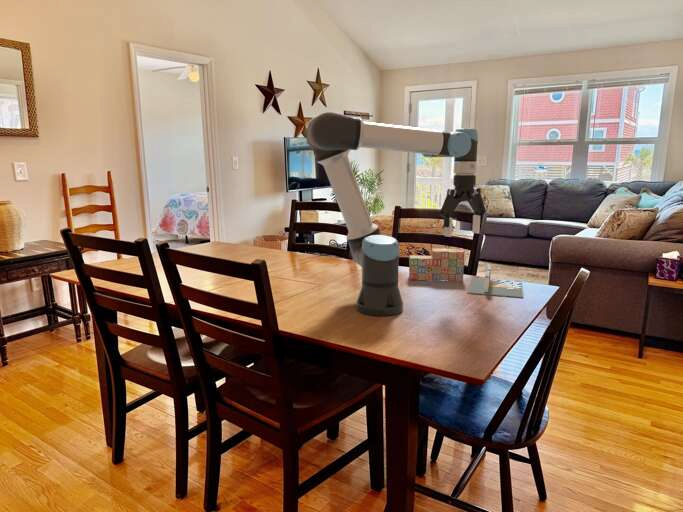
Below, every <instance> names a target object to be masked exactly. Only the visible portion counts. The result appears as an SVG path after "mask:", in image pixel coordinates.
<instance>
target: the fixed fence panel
mask: <svg viewBox="0 0 683 512" xmlns="http://www.w3.org/2000/svg"><path fill="white" fill-rule="evenodd" d="M491 267H492V264H491V263H487V266H486V269H491ZM491 270H492V269H491Z"/></svg>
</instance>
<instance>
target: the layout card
mask: <svg viewBox="0 0 683 512" xmlns="http://www.w3.org/2000/svg"><path fill="white" fill-rule="evenodd" d="M491 279H492V278H490V286H489V288H488V292H484V290H485V278H480V279H478V277H477V278H476V277H471V279H470V282H469V286H468V289H467V292H466V293H467V294H469V295H470V294H471V295H479V294H481V295H484V296H491V295H496V296H495V297H503V296H508V297H507V298H515V297H520V298H519V299H524V295H523V283H522V281H518V280H514V281H515V282H521V283H519V284H517V285H522V286H519V287H522V288H518V289H517V288H516V287H508V286H496V285H497V284H501V283H504V282H501V283H499V282H500V281H501V280H502V279H496V280H497V281H493V280H495V279H494V278H493V279H492V280H491ZM510 281H511V280H507V281H505V282H510ZM510 284H513V282H512V283H510ZM512 286H513V285H512ZM507 288H514V289H507ZM481 295H480V296H481Z"/></svg>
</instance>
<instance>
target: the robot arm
mask: <svg viewBox="0 0 683 512" xmlns="http://www.w3.org/2000/svg"><path fill="white" fill-rule="evenodd" d="M478 135H479V133H478V129H476V128H470V127H467V128H457V129H456V130H455V132H454V131H447V130H445V131H444V130H438V129H437V130H436V129H429V128H422V127H421V128H420V127H412V126H406V125H405V126H403V125H395V124H386V123H377V122H368V121H363V120H362V118H361V117H357V116H351V115H345V114H341V113H337V112H330V111H329V112H328V111H327V112H324V113H321V114H319V115H317V116H315V117H314V118H312V119H311V120H310V121H309V123H308V125H307V127H306V129H305V139H306V142H307V145H309V147H310V148H311V149H312V153H313V155H314V158H315V160H316V163H317V164H319V165H321V166H323V169H324V170H325V173H326V176H327V179H328V181H329V183H330V186H331V189H332V191H333V194H334V197H335V199H336V201H337V204H338V208H339V210H340V212H341V215H342V217H343V220H344V223H345V226H346V228H347V231H348V233H347V235H346V240H347V243H348V245H349V252H350V256H351V258H352V259H353V261H354V262H355V264H357V265H358V266H359V267H361V287H360V291H359V294H358V297H357V299H356V307H355V308H356V310H357V312H359V313H361V314H364V315H368V316H374V317H375V316H377V317H380V316H381V317H385V316H388V317H389V316H395V315H398V314H400V313H402V312H403V310H404V302H403V298H402V295H401V292H400V289H399V260H400V255H399V254H400V244H399V241H398V240H397V239H396V238H395V237H393V236H389V235H384V234H382V233H381V229H380V228H379V225H378V224H375V223H373V221H372V218H371V216H370V213H369V210H368V208H367V205H366V203H365V200H364V197H363V194H362V191H361V189H360V186H359V183H358V181H357V177H356V175H355V173H354V170H353V167H352V165H351V162H350V158H349V153H350V152H351V151H358V150H359V149H360V148H365V149H366V148H367V149H375V150H384V151H392V152H393V151H394V152H405V153H412V154H413V153H414V154H421V155H422V156H423V157H425V158H454V160H453V161H454V162H453V163H454V165H453V174H454V175H453V186H454V188H448V189H447V190H446V196H445V199H444V201H443V203H442V206H441V208H440V211H439V216H440V217H442V218H443V227H444V237H450V238H451V237H453V236H452V234H453V233H452V232H453V217H452V215H453V214H454V212H455V211H456V209H457V207H458V206H459V204H460V203H462V202H467V203H468V204H469V206H470V208H471V210H472V211H473V213H474V214H473V215H472V234H477V235H478V234H480V230H481V229H480V228H481V227H480V225H481V223H482V216H484V215H485V214H486V212H487V210H486V207H485V203H484V200H483V197H482V193H481V190H482V189H481V188H480V187H475V186H476V183H477V182H476V181H477V176H476V174H477V159H478V157H477V156H478V144H479V137H478ZM350 150H351V151H350Z"/></svg>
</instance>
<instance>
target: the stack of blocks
mask: <svg viewBox="0 0 683 512" xmlns="http://www.w3.org/2000/svg"><path fill="white" fill-rule="evenodd" d="M408 261H409V262H408V263H409V264H408V271H409V272H408V278H409V281H419V280H446V281H445V282H461V281H463V282H464V272H465V271H464V269H465V251H464V249H462V248H461V249H457V248H431V255H413V254H412V255H410V254H409V260H408ZM447 280H448V281H447Z"/></svg>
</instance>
